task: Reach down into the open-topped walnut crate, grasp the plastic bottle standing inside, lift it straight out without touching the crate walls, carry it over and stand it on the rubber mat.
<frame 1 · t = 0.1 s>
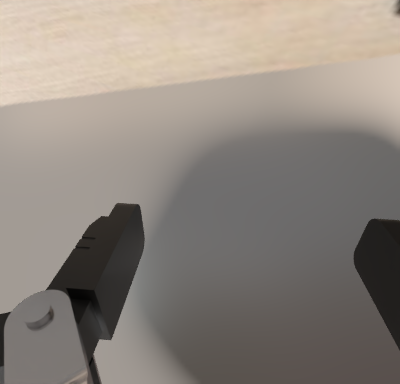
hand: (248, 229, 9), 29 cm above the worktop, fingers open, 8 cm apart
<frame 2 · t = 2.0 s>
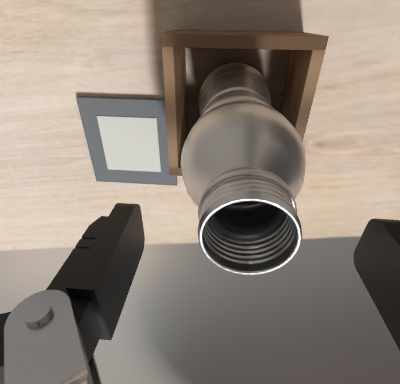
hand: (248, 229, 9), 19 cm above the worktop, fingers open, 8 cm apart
crate: (233, 96, 25), on the worktop
plastic bottle: (233, 96, 26), resting in crate
mat: (131, 143, 29), on the worktop
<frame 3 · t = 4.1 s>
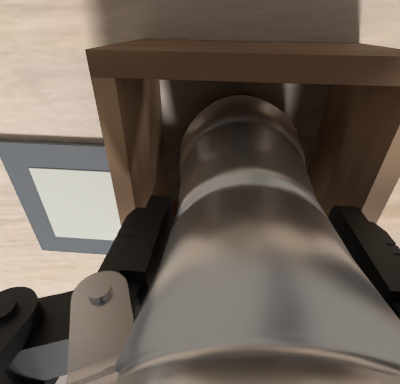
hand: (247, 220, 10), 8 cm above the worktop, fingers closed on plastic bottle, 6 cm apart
crate: (237, 142, 16), on the worktop
plastic bottle: (237, 141, 16), resting in crate, touching gripper
mat: (87, 204, 20), on the worktop
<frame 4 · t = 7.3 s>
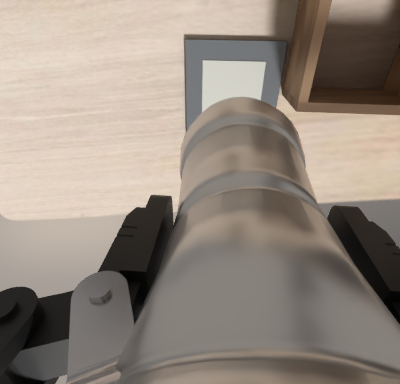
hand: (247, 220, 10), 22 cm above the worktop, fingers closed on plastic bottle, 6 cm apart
crate: (351, 36, 25), on the worktop
plastic bottle: (238, 142, 16), point 14 cm above the worktop, touching gripper
mat: (231, 92, 28), on the worktop
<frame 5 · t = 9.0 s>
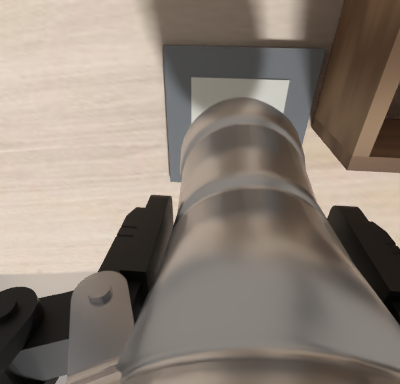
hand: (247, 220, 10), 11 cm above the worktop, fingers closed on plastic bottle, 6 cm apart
plastic bottle: (238, 143, 16), point 3 cm above the worktop, touching gripper
mat: (235, 124, 19), on the worktop
when the fingers open (9 cm above the worktop, at t = 10.5 s): plastic bottle stays where it is, resting on mat.
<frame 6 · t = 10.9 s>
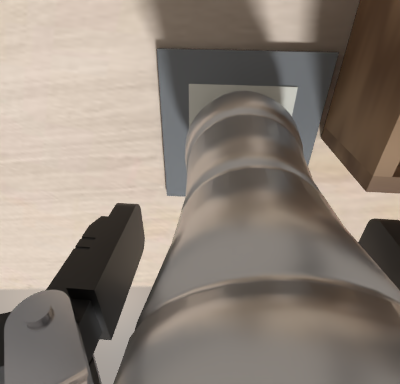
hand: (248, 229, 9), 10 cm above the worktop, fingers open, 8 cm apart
plastic bottle: (239, 135, 17), resting on mat
mat: (237, 134, 17), on the worktop
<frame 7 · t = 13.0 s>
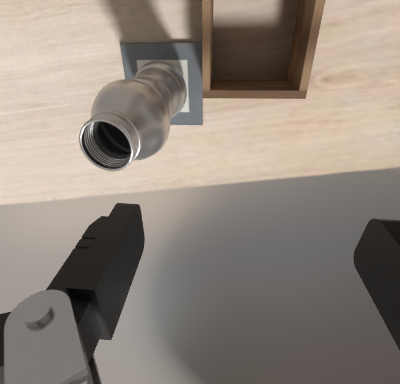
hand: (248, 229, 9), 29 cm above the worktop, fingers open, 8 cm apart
crate: (252, 37, 30), on the worktop
plastic bottle: (165, 86, 34), resting on mat
mat: (164, 86, 34), on the worktop
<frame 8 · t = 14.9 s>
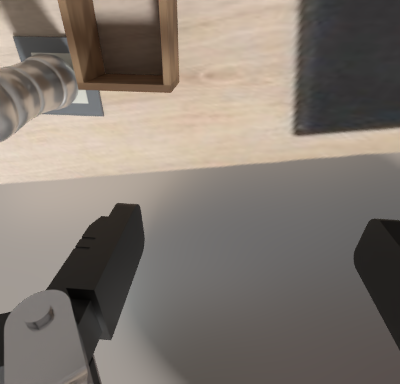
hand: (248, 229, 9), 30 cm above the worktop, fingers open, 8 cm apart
crate: (134, 34, 32), on the worktop
plastic bottle: (62, 78, 36), resting on mat
mat: (62, 78, 36), on the worktop
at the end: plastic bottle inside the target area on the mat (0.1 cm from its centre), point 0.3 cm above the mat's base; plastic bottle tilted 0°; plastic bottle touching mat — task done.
